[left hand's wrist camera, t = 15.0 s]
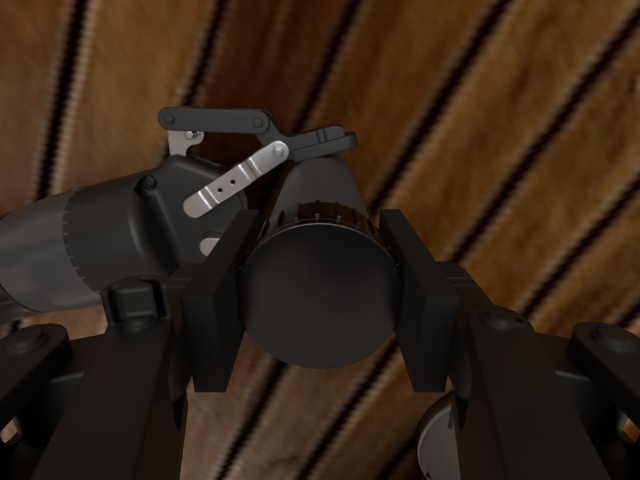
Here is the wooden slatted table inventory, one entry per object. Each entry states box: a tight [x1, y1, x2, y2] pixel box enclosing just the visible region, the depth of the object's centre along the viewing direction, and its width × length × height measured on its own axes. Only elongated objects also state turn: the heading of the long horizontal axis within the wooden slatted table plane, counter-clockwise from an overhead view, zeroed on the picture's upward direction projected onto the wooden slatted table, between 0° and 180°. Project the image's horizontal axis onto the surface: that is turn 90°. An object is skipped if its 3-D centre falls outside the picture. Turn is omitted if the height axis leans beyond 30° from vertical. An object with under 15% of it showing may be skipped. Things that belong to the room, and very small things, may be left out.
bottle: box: [269, 151, 369, 221], centre depth 19 cm, size 4×4×19 cm
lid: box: [236, 200, 403, 369], centre depth 11 cm, size 5×5×2 cm
